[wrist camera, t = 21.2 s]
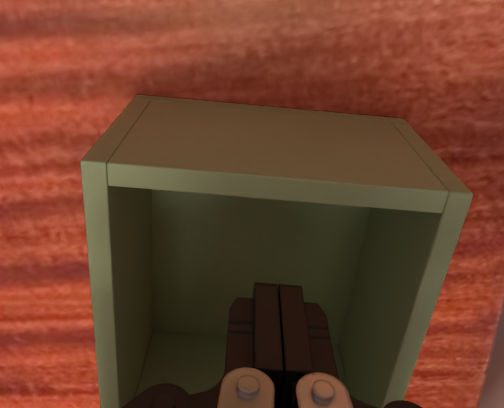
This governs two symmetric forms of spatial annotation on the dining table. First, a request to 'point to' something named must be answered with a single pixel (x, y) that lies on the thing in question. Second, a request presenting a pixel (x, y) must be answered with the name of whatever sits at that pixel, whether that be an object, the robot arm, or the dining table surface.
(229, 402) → the robot arm
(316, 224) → the chest
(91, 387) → the dining table surface
